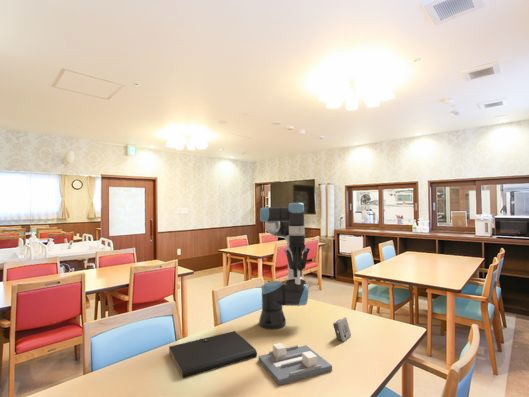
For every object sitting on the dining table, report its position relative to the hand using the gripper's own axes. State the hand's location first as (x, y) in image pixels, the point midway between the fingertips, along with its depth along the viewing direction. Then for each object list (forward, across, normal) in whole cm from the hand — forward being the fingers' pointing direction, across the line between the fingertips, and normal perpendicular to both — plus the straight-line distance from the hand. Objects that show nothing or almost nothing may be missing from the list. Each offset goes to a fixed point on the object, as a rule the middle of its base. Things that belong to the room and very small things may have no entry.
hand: (297, 283), depth 146 cm
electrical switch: (+30, +24, -2) cm, 38 cm away
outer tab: (+27, -7, -21) cm, 35 cm away
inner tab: (+27, -15, -9) cm, 32 cm away
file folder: (+30, -40, +9) cm, 51 cm away
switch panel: (+29, -11, -15) cm, 35 cm away
